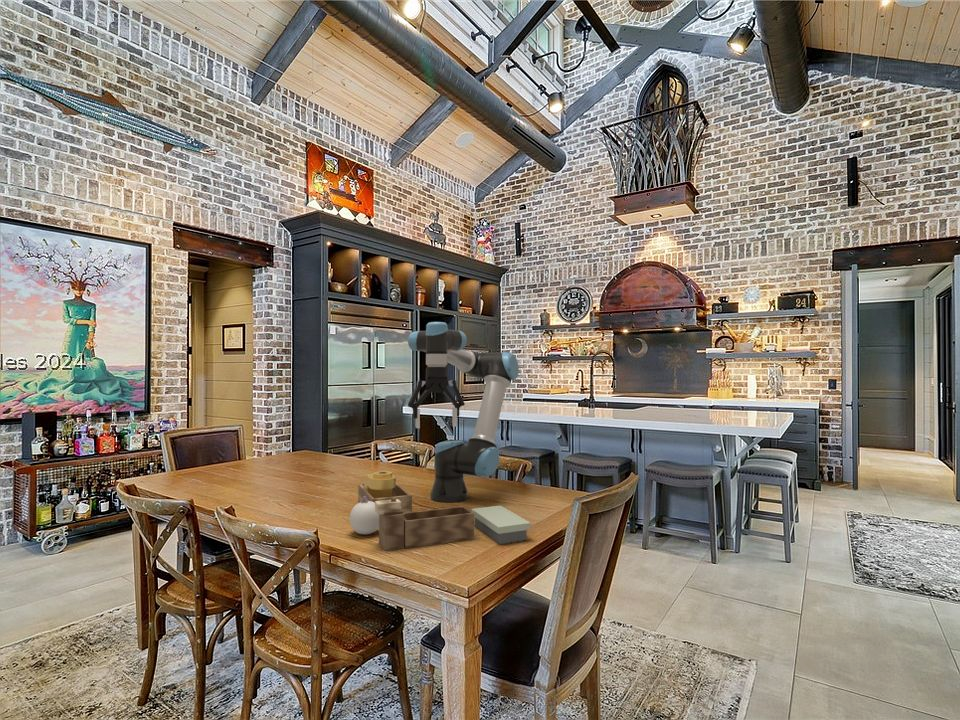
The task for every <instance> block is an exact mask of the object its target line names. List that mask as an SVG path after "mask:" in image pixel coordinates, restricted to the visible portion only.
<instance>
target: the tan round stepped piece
mask: <svg viewBox="0 0 960 720" xmlns="http://www.w3.org/2000/svg"><path fill="white" fill-rule="evenodd" d="M396 482H397V476H396V475H394V474H393V472H392V471H390V470H378V471H374V472H373V473H366V474H365V477H364V482H363V484H364V488H365V489H366V490H367V491H368V492H369V493H370V495H371V496H372V497H373V498H374V499H375V498H385V497H392V488H395V487H396Z"/></svg>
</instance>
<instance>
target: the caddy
mask: <svg viewBox="0 0 960 720" xmlns="http://www.w3.org/2000/svg"><path fill="white" fill-rule="evenodd" d="M357 487H358V491H357V492H358V494H357V495H358V496H357V498H358V502H357V504H358V503H360V502H361V501H362V499H363V497H364V496H366V497H367V500H368V501H372V502H374V503H375V501H382V500H391V497H385V498H375V499H374V498H373V497H372V496H371V495H370V493H369V492H368V491H367V490H366V489H365V488H364V483H359V484H358V486H357ZM392 497H396V499H398V500H399V501H401V510H403V513H407V512H413V495H412V494H411V493H410V492H409V491H407V490H406V489H405V488H403V486H401V485H400V484H399V483H398V482H397V481H396V487H395V488H392ZM364 501H365V500H364Z"/></svg>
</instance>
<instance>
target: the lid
mask: <svg viewBox="0 0 960 720" xmlns="http://www.w3.org/2000/svg"><path fill="white" fill-rule="evenodd" d="M470 511H471V512H473V513H474V519H475V518H477V519H478V520H479V521H481V522H482V523H484V524H485V525H486V526H488V527H489V528H491V529H492V530H494V531H495V532H496V533H498V534H502V533H509V532H516V531H523V530H527V531H529V530H531V528H532V527H531V525H532V524H531V522H530V521H528V520H526V519H524V518H523V517H521V516H519V515H518V514H516V513H515V512H512V511H511V510H509V509H507V508H506V507H504V506H503V505H495V506H487V507H486V506H484V507H476V508H471V510H470Z"/></svg>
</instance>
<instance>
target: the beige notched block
mask: <svg viewBox="0 0 960 720" xmlns="http://www.w3.org/2000/svg"><path fill="white" fill-rule="evenodd" d="M400 510H401V501H399V500H398V499H396V497H391V500H382V501H375V512H376V513H377V514H378V515H380V514H384V512H391V511H400Z"/></svg>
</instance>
